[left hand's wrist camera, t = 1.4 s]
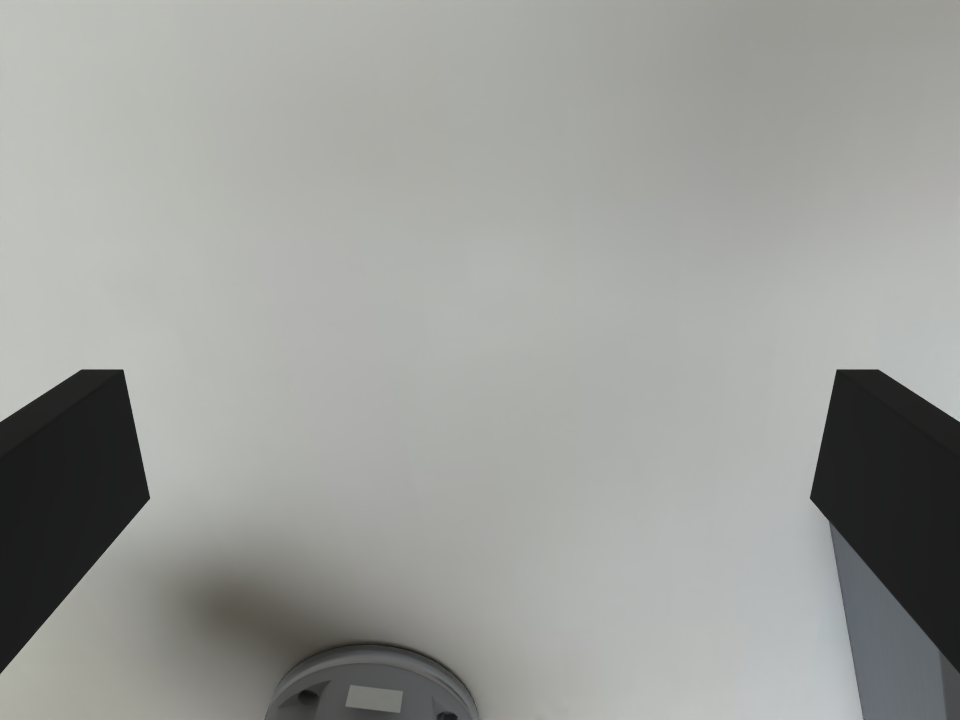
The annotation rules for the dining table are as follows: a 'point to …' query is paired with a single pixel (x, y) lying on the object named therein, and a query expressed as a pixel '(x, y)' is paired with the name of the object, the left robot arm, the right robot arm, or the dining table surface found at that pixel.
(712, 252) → the dining table surface
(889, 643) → the box
